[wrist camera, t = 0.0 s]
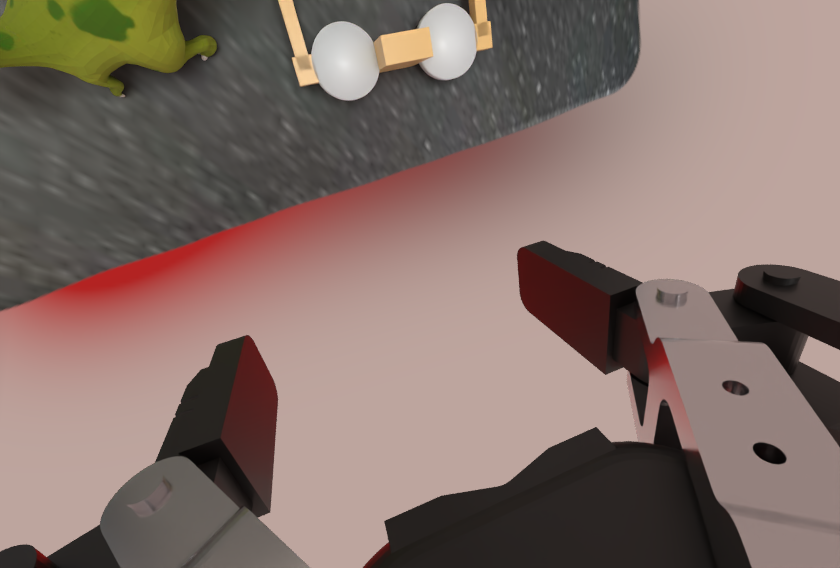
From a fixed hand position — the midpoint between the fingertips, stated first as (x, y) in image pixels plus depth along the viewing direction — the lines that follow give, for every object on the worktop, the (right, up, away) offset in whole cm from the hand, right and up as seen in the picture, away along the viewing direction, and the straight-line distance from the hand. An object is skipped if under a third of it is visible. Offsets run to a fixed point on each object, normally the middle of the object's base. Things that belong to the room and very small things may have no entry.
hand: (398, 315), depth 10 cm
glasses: (-3, +24, +22) cm, 33 cm away
